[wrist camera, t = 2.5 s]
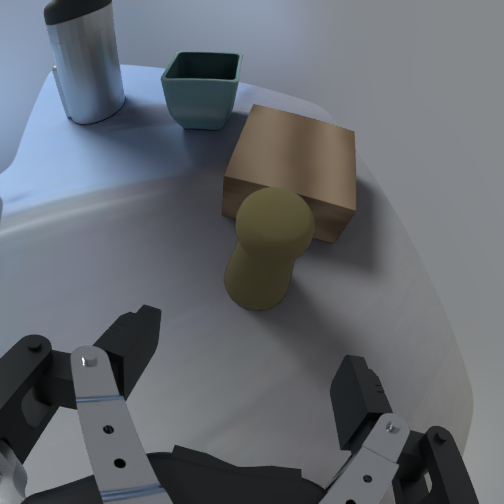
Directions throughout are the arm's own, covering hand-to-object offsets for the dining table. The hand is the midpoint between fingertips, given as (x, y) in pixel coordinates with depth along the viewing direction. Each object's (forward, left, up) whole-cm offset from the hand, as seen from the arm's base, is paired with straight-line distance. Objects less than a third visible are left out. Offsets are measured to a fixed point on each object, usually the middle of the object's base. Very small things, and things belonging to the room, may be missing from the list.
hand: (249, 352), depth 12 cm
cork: (0, +9, -13) cm, 16 cm away
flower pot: (-12, +30, -13) cm, 35 cm away
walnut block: (+1, +21, -13) cm, 25 cm away
